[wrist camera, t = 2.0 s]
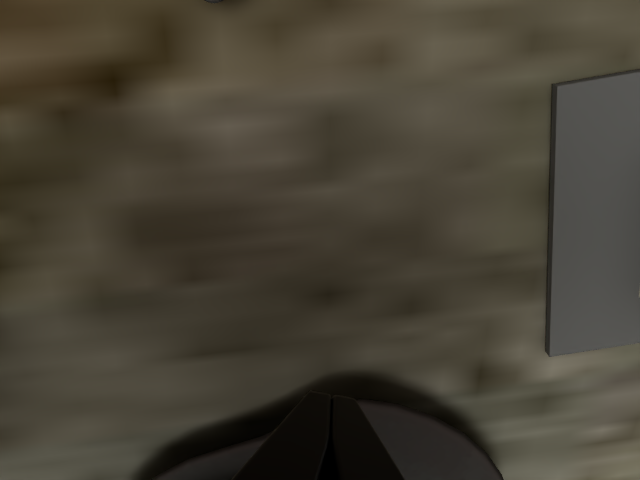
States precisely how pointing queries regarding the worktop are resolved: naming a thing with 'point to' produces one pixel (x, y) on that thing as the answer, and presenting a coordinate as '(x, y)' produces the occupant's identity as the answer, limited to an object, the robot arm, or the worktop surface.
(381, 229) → the worktop surface
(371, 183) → the worktop surface
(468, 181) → the worktop surface
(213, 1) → the calculator
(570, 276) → the mat
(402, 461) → the casserole
